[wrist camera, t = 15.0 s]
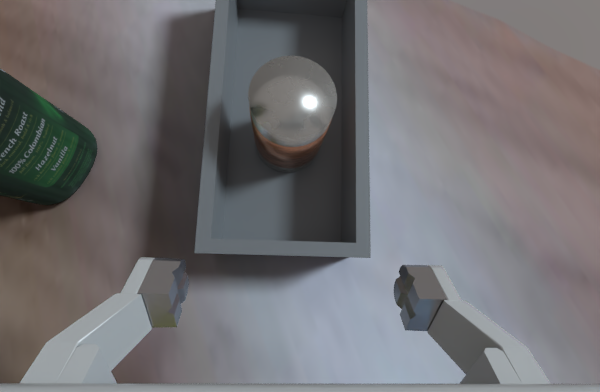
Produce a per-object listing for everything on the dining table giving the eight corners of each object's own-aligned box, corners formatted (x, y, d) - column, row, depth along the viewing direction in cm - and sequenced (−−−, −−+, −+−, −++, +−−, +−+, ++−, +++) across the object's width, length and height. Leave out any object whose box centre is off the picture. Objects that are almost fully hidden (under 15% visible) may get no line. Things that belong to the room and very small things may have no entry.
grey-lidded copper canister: (319, 114, 29) (337, 57, 21) (318, 174, 28) (337, 141, 20) (256, 110, 29) (249, 51, 20) (253, 171, 28) (245, 136, 19)
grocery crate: (349, 16, 32) (366, -36, 26) (350, 256, 28) (370, 257, 22) (230, 6, 31) (220, -51, 26) (211, 253, 27) (194, 253, 21)
